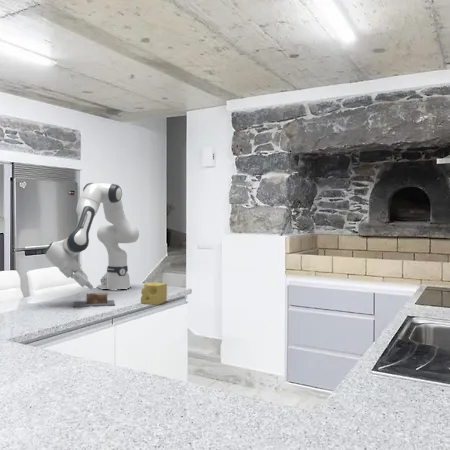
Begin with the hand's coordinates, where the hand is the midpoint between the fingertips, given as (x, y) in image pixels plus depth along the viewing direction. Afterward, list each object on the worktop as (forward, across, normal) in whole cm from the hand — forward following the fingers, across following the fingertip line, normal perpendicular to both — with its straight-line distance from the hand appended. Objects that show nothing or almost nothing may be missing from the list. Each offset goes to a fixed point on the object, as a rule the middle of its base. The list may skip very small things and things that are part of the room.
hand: (92, 288), depth 232 cm
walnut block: (+2, 0, +6) cm, 6 cm away
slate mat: (+6, 0, +5) cm, 8 cm away
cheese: (+28, -2, -16) cm, 32 cm away
